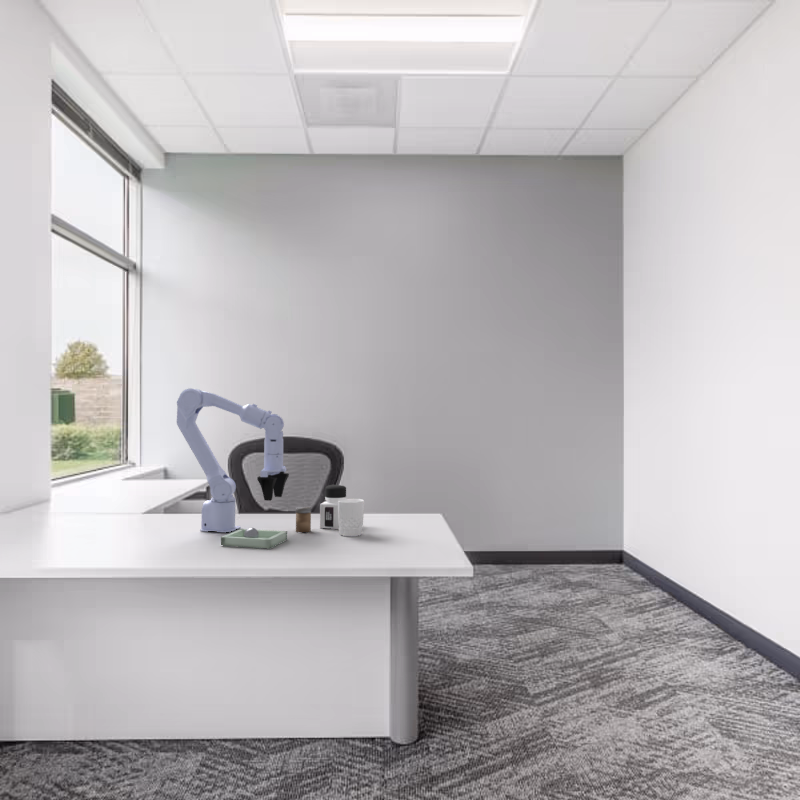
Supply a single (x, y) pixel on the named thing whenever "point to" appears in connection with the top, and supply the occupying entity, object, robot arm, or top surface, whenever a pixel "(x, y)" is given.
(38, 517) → the top surface
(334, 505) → the container
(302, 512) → the cylinder
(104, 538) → the top surface
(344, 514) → the white cup
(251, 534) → the ball
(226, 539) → the tray
